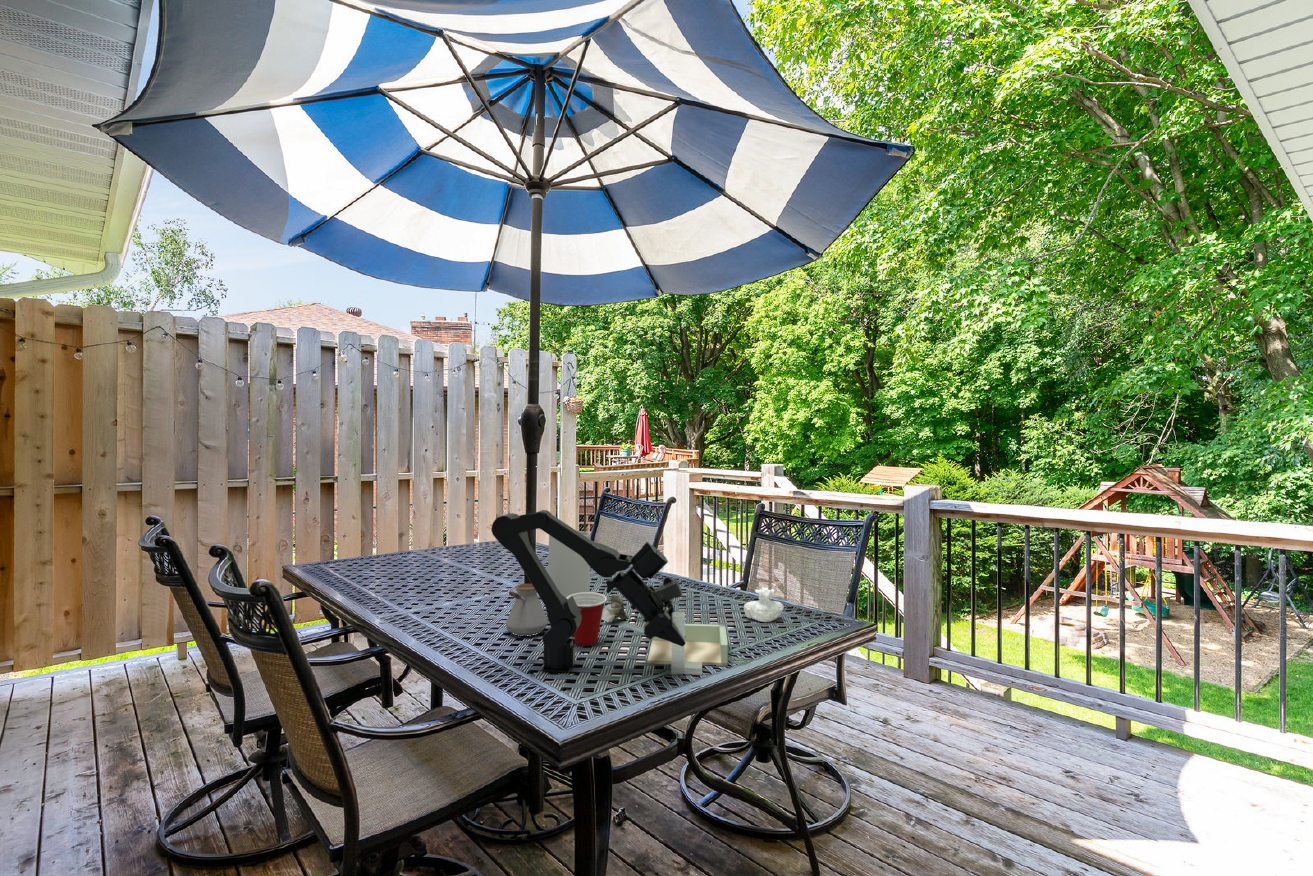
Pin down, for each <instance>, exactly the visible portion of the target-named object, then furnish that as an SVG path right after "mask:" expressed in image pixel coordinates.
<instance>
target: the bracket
mask: <svg viewBox="0 0 1313 876" xmlns="http://www.w3.org/2000/svg"><path fill="white" fill-rule="evenodd" d="M672 616H673V618H672V623H673V625H674V627H675V628H676V629H677V631H678V632H679V634H680V635H681V637H682V638H683V640H684V641H685V624H686V612H685V611H675V612H672ZM670 666H671V667H670V668H671V669H670V671H671V672H670V674H671V675H683V674H692V675H691V676H694V675H695V676H703V665H702V662H685V645H684V646H680V645H677V644H674V643H672V647H671V664H670Z"/></svg>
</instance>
